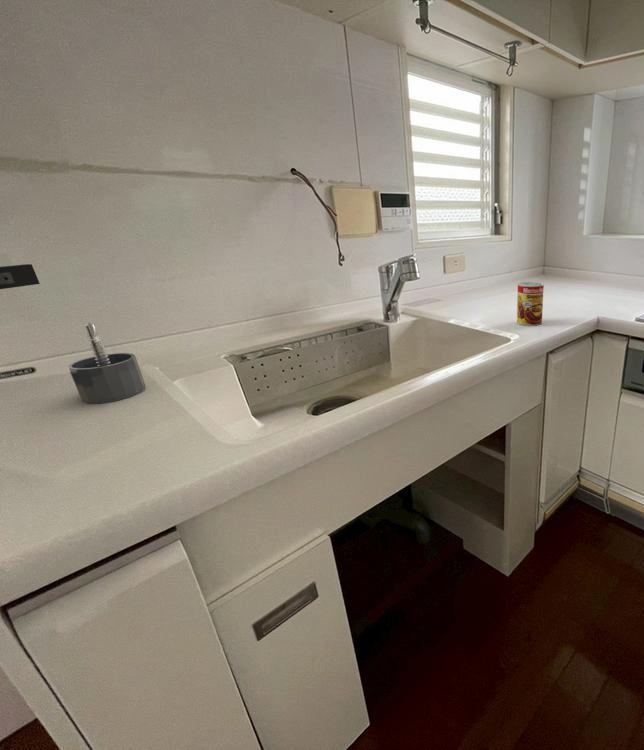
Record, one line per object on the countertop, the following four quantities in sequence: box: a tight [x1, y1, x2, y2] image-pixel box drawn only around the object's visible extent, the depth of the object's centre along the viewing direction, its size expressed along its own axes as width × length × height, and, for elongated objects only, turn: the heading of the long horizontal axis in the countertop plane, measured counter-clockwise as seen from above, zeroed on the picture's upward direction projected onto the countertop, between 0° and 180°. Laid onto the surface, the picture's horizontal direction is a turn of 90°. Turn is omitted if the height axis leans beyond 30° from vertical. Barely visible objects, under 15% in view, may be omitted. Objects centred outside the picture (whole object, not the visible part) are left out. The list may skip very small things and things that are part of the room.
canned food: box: [516, 281, 545, 327], centre depth 124 cm, size 8×8×12 cm
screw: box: [83, 322, 111, 367], centre depth 72 cm, size 13×5×5 cm
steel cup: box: [67, 352, 147, 405], centre depth 73 cm, size 9×9×6 cm
